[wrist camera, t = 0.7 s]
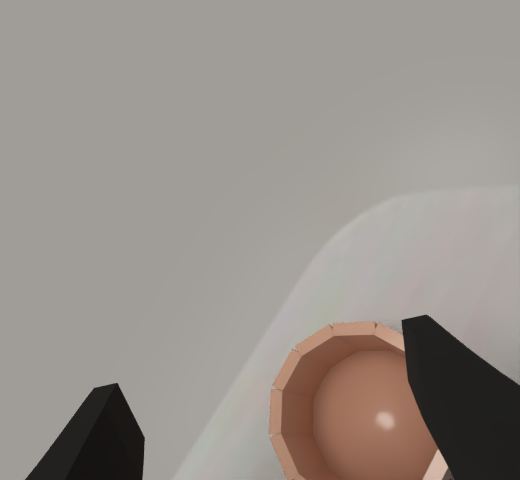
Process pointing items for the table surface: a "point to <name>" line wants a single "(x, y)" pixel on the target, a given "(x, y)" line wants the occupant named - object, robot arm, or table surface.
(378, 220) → the table surface
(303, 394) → the salmon slatted bowl
